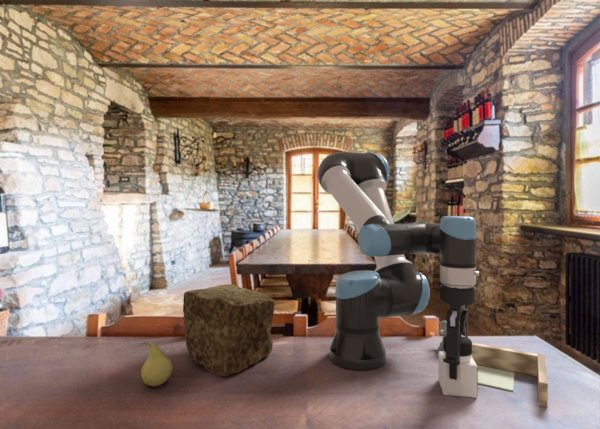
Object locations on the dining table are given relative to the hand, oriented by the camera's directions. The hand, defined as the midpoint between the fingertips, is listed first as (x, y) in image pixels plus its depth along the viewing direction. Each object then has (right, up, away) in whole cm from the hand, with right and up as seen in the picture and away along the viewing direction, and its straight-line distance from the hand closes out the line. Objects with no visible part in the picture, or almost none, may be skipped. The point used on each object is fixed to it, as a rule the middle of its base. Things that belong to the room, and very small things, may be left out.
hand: (457, 382), depth 85 cm
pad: (+10, -1, +6) cm, 12 cm away
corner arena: (+10, -1, +5) cm, 11 cm away
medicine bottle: (0, -2, 0) cm, 2 cm away
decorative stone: (-55, -1, +17) cm, 58 cm away
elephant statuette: (+8, -1, +23) cm, 25 cm away
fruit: (-70, -2, +3) cm, 70 cm away
